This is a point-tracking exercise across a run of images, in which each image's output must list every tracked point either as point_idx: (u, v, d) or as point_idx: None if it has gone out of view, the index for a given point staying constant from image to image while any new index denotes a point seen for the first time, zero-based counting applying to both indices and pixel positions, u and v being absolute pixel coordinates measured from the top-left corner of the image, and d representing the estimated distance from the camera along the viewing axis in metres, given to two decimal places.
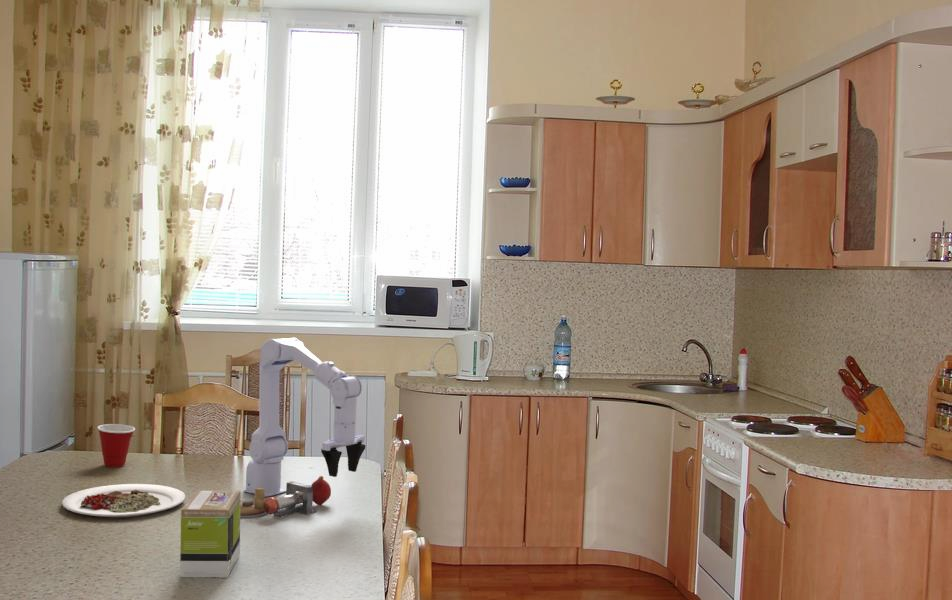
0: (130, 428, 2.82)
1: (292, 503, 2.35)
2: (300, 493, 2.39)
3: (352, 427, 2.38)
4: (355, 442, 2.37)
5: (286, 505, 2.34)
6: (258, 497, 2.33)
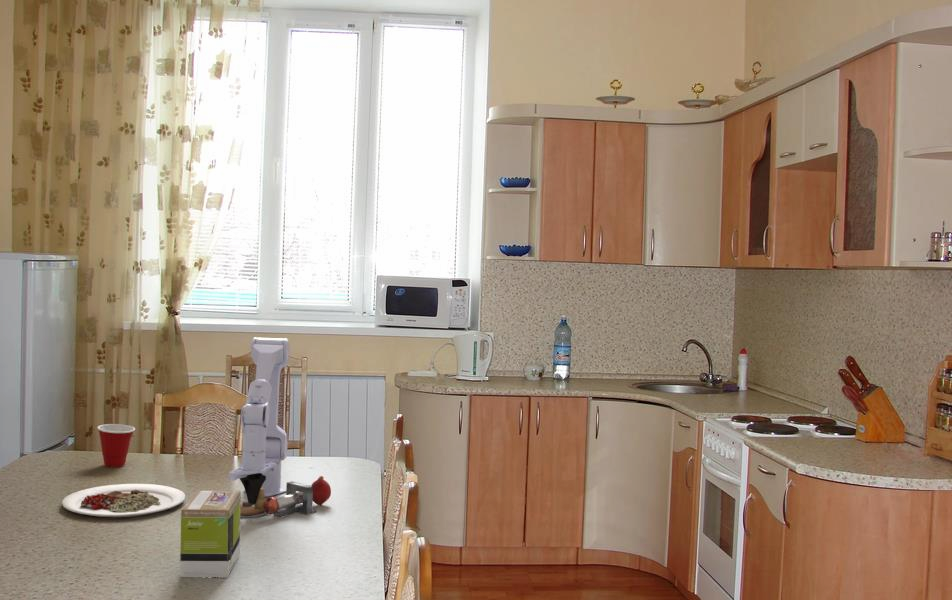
0: (130, 428, 2.82)
1: (292, 503, 2.35)
2: (300, 493, 2.39)
3: (261, 455, 2.30)
4: (264, 471, 2.29)
5: (286, 505, 2.34)
6: (258, 497, 2.33)
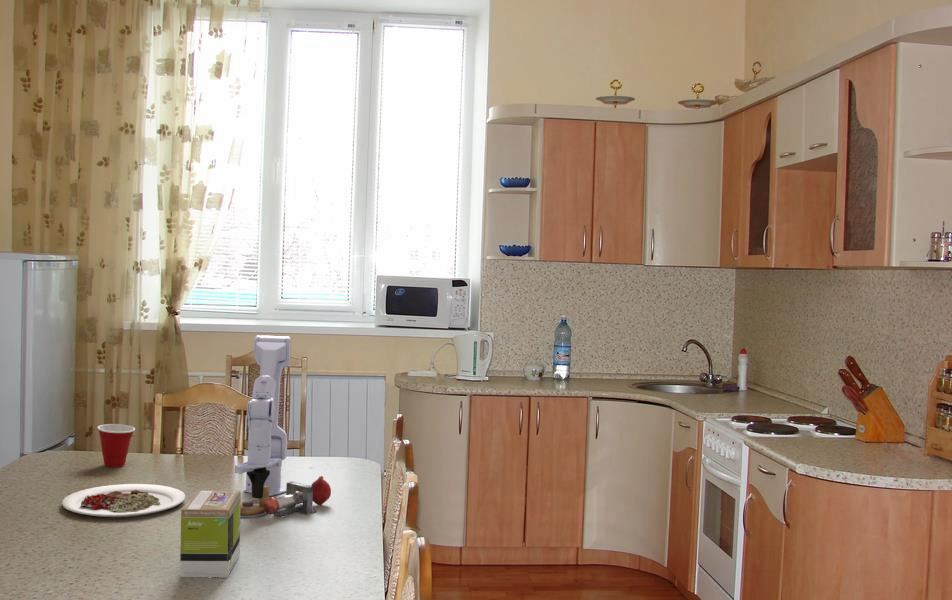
0: (130, 428, 2.82)
1: (292, 503, 2.35)
2: (300, 493, 2.39)
3: (266, 450, 2.34)
4: (269, 465, 2.33)
5: (286, 505, 2.34)
6: (265, 495, 2.35)
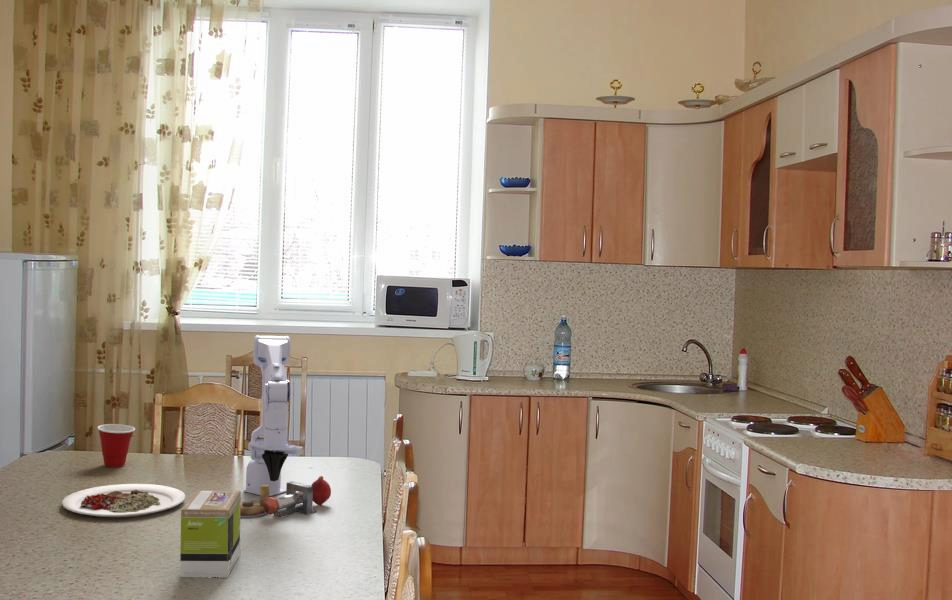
0: (130, 428, 2.82)
1: (292, 503, 2.35)
2: (300, 493, 2.39)
3: (270, 433, 2.31)
4: (267, 448, 2.30)
5: (286, 505, 2.34)
6: (267, 494, 2.36)
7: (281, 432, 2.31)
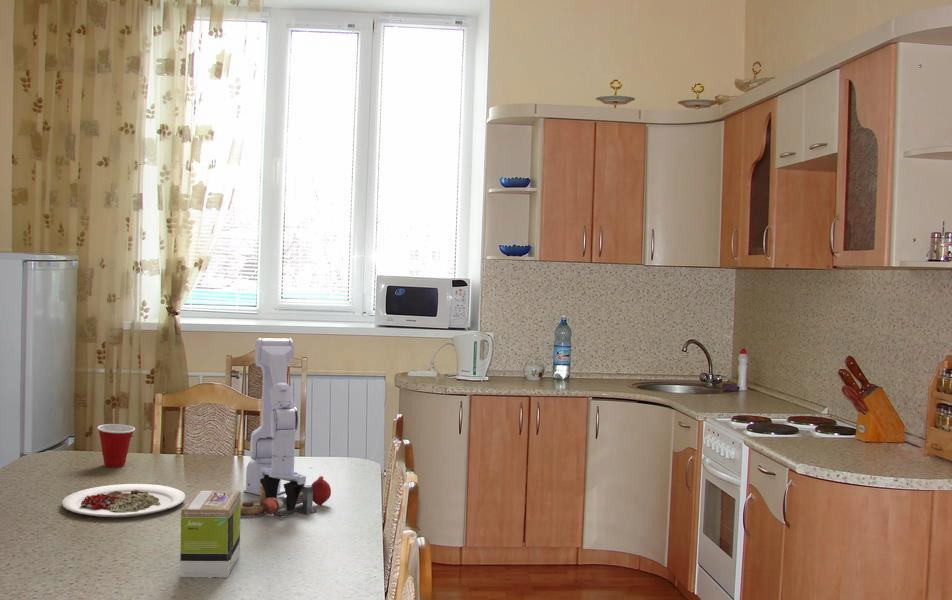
0: (130, 428, 2.82)
1: None
2: (300, 493, 2.39)
3: (274, 460, 2.31)
4: (270, 475, 2.30)
5: None
6: None
7: (285, 460, 2.31)
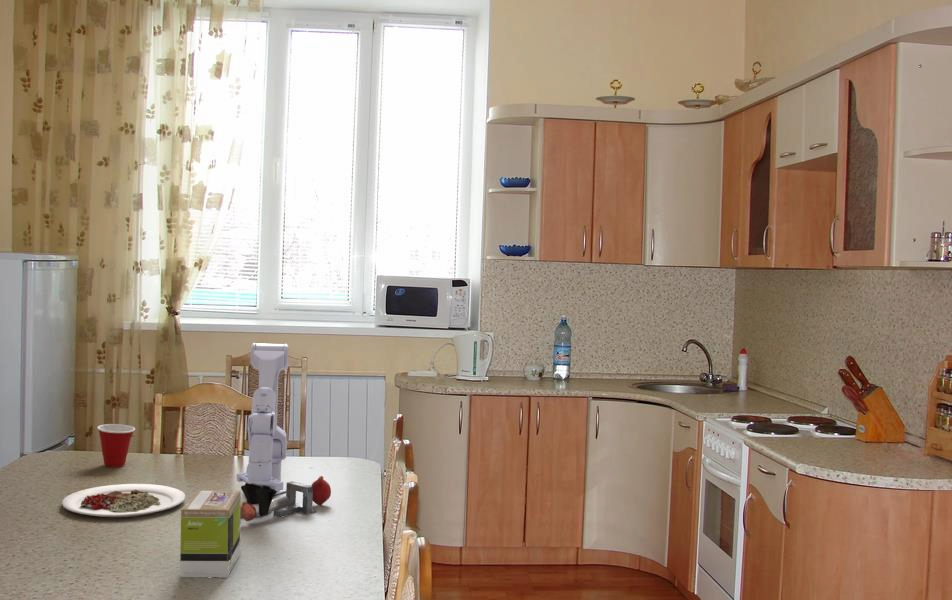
0: (130, 428, 2.82)
1: (270, 509, 2.29)
2: (279, 499, 2.32)
3: (251, 465, 2.25)
4: (247, 481, 2.24)
5: None
6: None
7: (262, 465, 2.24)
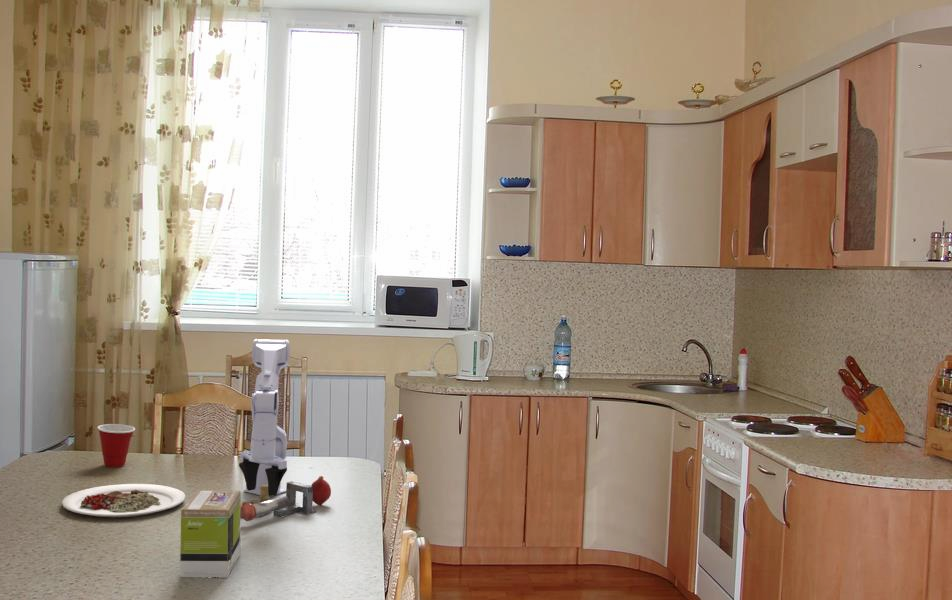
0: (130, 428, 2.82)
1: (270, 509, 2.29)
2: (279, 499, 2.32)
3: (254, 444, 2.25)
4: (251, 460, 2.24)
5: (264, 511, 2.27)
6: (267, 494, 2.36)
7: (265, 444, 2.25)
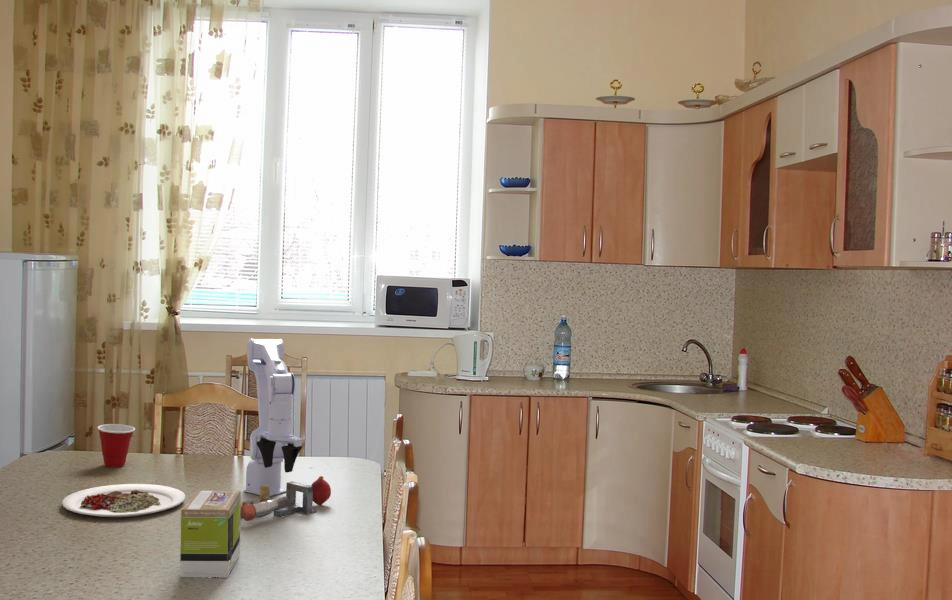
0: (130, 428, 2.82)
1: (270, 509, 2.29)
2: (279, 499, 2.32)
3: (271, 423, 2.39)
4: (268, 438, 2.38)
5: (264, 511, 2.27)
6: (267, 494, 2.36)
7: (282, 423, 2.39)
